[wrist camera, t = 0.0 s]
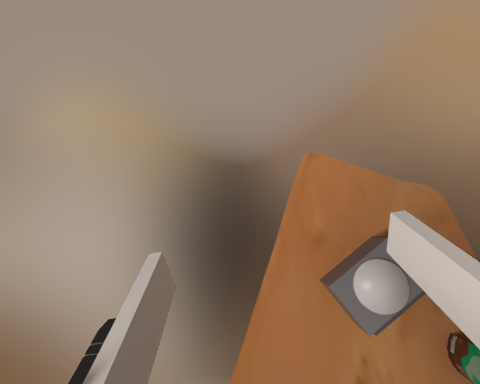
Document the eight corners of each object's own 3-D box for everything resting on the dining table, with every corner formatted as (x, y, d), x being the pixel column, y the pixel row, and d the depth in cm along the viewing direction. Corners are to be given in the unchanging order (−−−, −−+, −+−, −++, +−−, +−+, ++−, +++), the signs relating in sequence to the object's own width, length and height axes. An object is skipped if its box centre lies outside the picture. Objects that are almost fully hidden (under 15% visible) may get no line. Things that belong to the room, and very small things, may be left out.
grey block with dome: (411, 280, 44) (438, 288, 37) (358, 326, 43) (375, 343, 37) (371, 237, 46) (390, 237, 40) (320, 280, 46) (330, 287, 39)
